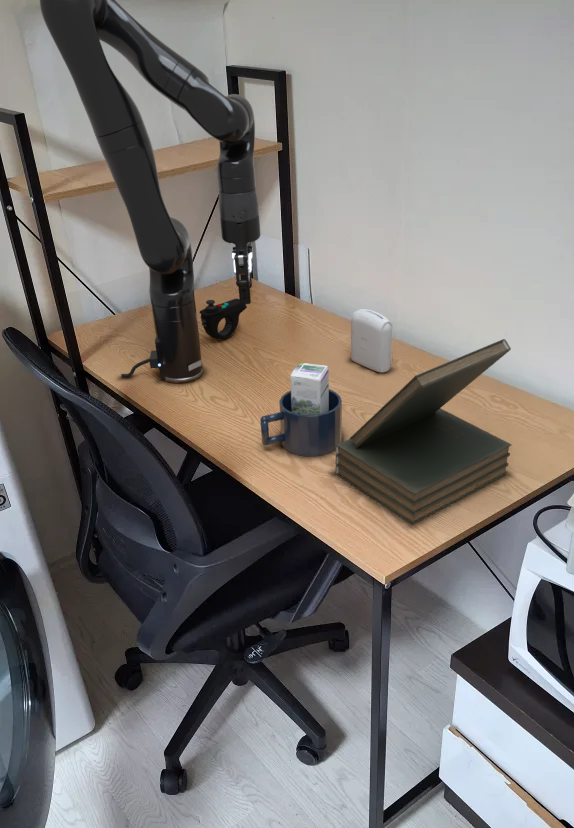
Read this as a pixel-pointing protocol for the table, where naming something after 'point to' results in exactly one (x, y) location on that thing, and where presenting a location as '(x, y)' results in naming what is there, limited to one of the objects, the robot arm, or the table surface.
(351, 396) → the table surface
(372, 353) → the photo printer
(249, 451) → the table surface
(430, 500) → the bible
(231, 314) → the controller
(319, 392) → the syrup box
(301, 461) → the table surface
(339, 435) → the mug
